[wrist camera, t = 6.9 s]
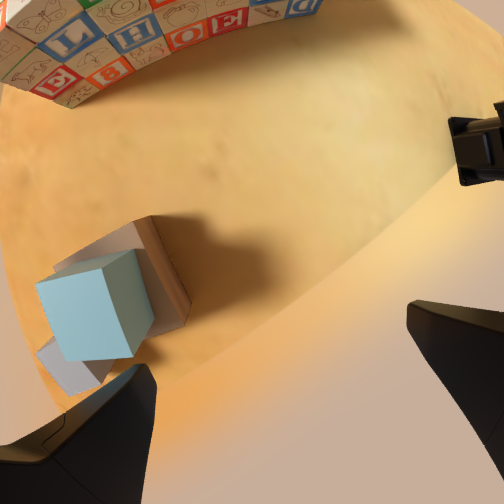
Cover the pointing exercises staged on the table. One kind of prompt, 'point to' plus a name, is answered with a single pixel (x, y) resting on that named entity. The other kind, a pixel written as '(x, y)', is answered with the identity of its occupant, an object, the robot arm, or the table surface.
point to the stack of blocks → (113, 38)
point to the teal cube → (98, 307)
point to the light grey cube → (73, 369)
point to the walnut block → (145, 271)
